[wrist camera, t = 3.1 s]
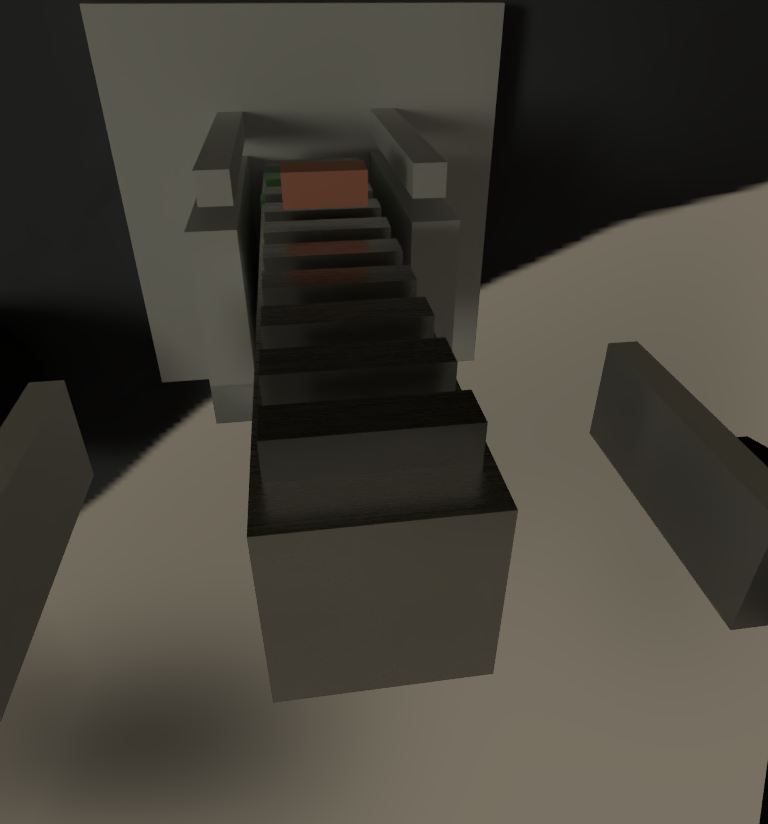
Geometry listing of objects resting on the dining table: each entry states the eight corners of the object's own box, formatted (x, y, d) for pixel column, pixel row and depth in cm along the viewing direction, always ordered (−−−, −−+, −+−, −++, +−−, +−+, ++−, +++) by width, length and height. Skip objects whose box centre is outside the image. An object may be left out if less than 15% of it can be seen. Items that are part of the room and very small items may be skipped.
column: (260, 151, 27) (236, 494, 9) (357, 148, 27) (527, 467, 9) (271, 263, 30) (270, 704, 11) (360, 258, 30) (495, 674, 12)
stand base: (91, 2, 25) (-35, 14, 15) (490, 1, 27) (627, 11, 17) (167, 363, 34) (121, 529, 24) (464, 342, 36) (543, 488, 26)
